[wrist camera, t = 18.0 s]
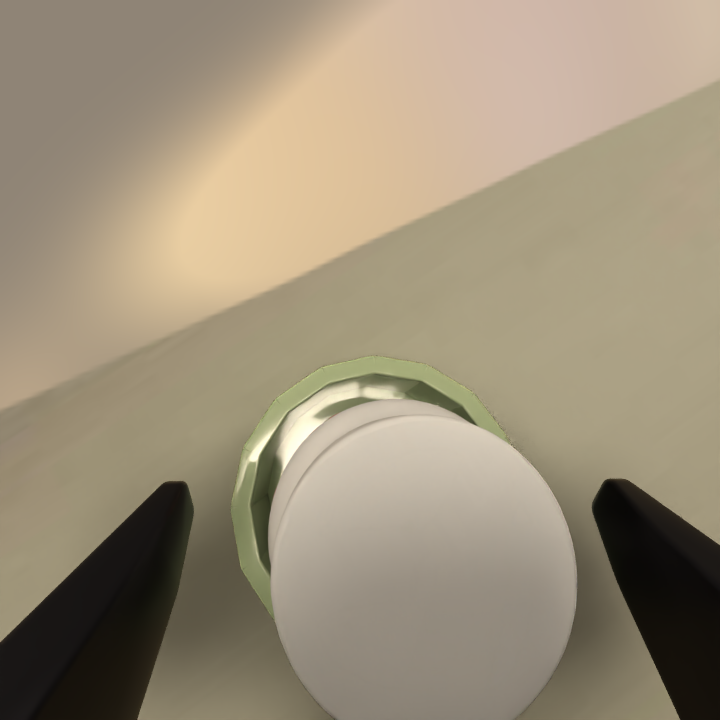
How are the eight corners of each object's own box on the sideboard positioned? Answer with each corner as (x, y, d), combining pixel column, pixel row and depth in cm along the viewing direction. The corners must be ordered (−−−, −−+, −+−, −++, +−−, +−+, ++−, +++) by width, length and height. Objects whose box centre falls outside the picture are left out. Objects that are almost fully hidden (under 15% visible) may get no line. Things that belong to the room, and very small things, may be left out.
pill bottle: (307, 405, 16) (270, 353, 7) (450, 424, 17) (617, 399, 7) (284, 562, 15) (197, 777, 5) (437, 580, 15) (617, 817, 6)
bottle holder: (523, 510, 17) (581, 531, 13) (344, 661, 15) (347, 737, 11) (391, 335, 18) (408, 305, 14) (212, 461, 16) (175, 467, 12)
